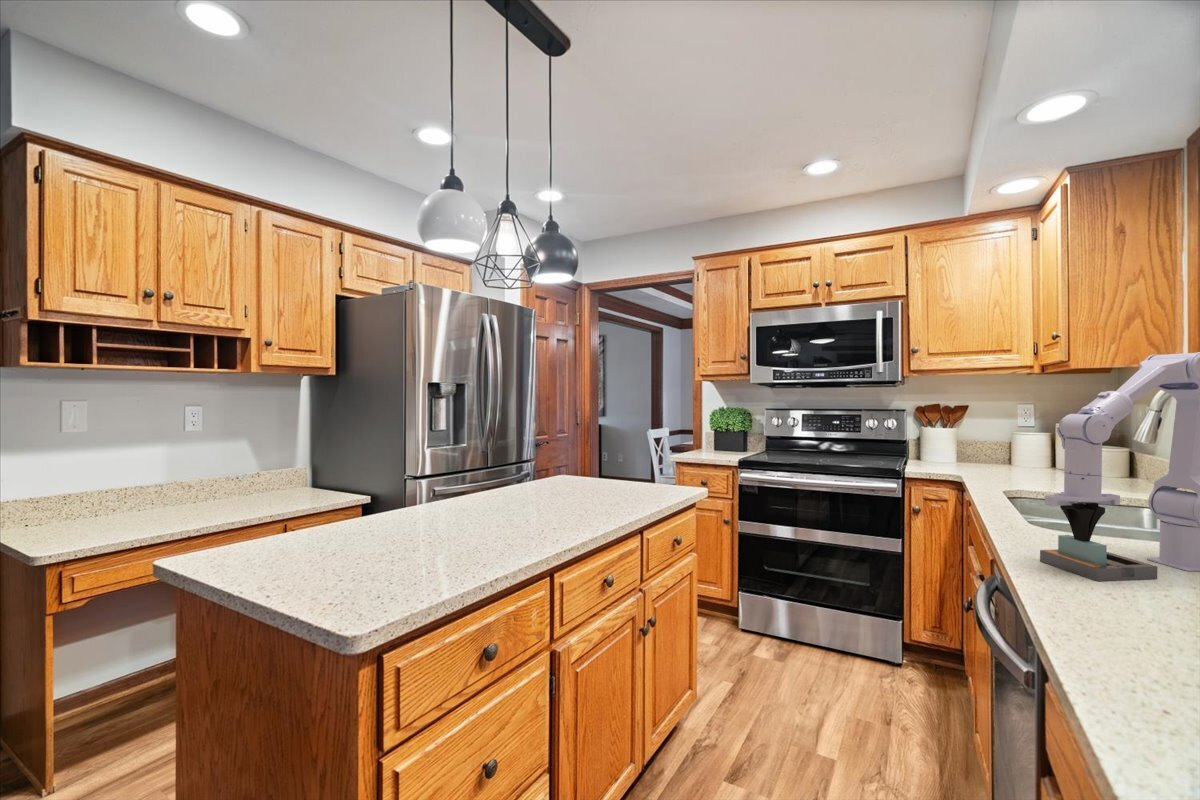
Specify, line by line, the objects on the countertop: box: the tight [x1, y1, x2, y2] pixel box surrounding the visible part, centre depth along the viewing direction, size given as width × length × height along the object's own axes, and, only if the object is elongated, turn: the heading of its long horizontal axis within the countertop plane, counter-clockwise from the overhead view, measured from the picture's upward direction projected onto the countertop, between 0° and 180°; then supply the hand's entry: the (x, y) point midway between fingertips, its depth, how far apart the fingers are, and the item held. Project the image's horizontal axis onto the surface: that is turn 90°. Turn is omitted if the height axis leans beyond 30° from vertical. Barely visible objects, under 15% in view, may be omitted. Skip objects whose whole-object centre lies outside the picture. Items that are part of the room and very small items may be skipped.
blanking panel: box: [1057, 534, 1108, 566], centre depth 114 cm, size 2×8×6 cm, turn 5°
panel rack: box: [1039, 548, 1159, 582], centre depth 114 cm, size 13×13×3 cm
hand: (1081, 540), depth 114 cm, fingers closed, pressing on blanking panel
